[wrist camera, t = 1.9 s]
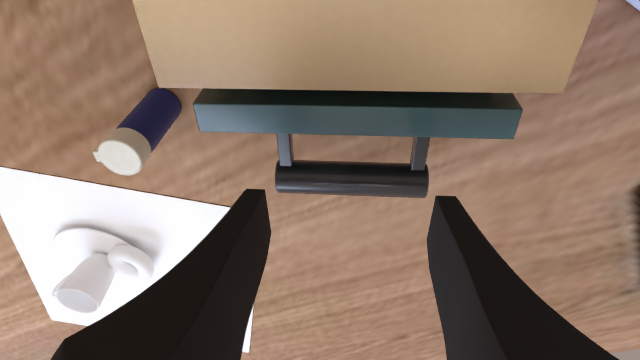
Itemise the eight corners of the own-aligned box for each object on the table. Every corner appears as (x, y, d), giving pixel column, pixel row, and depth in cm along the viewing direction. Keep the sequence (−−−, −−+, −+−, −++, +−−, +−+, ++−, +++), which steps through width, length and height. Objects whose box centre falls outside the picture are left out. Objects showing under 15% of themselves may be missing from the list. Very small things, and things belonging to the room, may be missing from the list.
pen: (185, 119, 24) (146, 176, 20) (148, 119, 24) (101, 175, 20) (177, 87, 23) (133, 140, 18) (137, 86, 23) (84, 139, 19)
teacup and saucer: (157, 235, 31) (133, 279, 27) (166, 296, 36) (147, 338, 32) (42, 215, 30) (4, 257, 27) (67, 279, 35) (38, 320, 32)
